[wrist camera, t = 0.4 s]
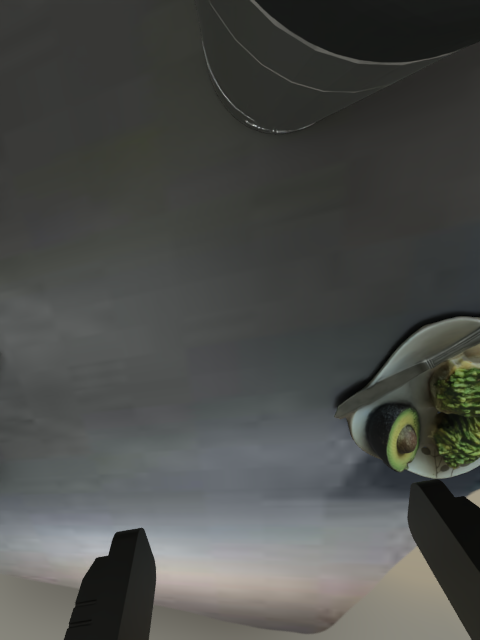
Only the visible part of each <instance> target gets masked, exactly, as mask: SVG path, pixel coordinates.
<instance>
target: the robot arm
mask: <svg viewBox="0 0 480 640" xmlns="http://www.w3.org/2000/svg"><path fill="white" fill-rule="evenodd" d="M195 5H196V10H197V15H198V21H199V26H200V31H201V36H202V43H203V48H204V53H205V58H206V63H207V68H208V73H209V76H210V79H211V81H212V84H213V87H214V89H215V92H216V93H217V95H218V97H219V98H220V100H221V102H222V103H223V105H224V106H225V108H226V109H227V110H228V111H229V112H230V113H231V114H232V115H233V116H234V117H235V118H236V119H237V120H239V121H240V122H242V123H243V124H244V125H246V126H247V127H250V128H252V129H255V130H257V131H260V132H264V133H270V134H283V133H291V132H294V131H297V130H300V129H304V128H306V127H308V126H311V125H313V124H315V122H317V121H319V120H321V119H323V118H325V117H327V116H329V115H331V114H333V113H335V112H337V111H339V110H341V109H344V108H346V107H348V106H350V105H352V104H354V103H356V102H358V101H360V100H362V99H364V98H366V97H368V96H370V95H372V94H374V93H376V92H378V91H380V90H382V89H384V88H386V87H388V86H390V85H392V84H394V83H396V82H398V81H400V80H402V79H404V78H406V77H408V76H410V75H412V74H414V73H416V72H418V71H420V70H421V69H423V68H425V67H427V66H429V65H431V64H433V63H435V62H437V61H439V60H441V59H443V58H445V57H447V56H449V55H451V54H453V53H455V52H457V51H459V50H461V49H463V48H465V47H467V46H469V45H472V44H474V43H476V42H479V41H480V0H195ZM408 525H409V528H410V531H411V534H412V536H413V539H414V541H415V542H416V544H417V546H418V547H419V549H420V551H421V553H422V554H423V556H424V558H425V559H426V561H427V563H428V565H429V567H430V568H431V570H432V572H433V574H434V575H435V577H436V579H437V581H438V582H439V584H440V586H441V587H442V589H443V591H444V593H445V594H446V596H447V598H448V600H449V601H450V603H451V605H452V606H453V608H454V610H455V612H456V613H457V615H458V617H459V619H460V620H461V622H462V624H463V626H464V627H465V629H466V631H467V632H468V634H469V636H470V637H471V639H472V640H480V508H479V507H478V506H477V505H475V504H474V503H472V502H471V501H470V500H468V499H467V498H466V497H464V496H461V497H454V496H453V494H452V493H451V492H450V491H449V489H448V488H447V487H446V486H445V484H444V483H443V482H442V481H440V480H438V479H435V480H429V481H423V482H417V483H412V484H411V488H410V497H409V507H408ZM155 585H156V566H155V560H154V557H153V554H152V551H151V548H150V545H149V542H148V539H147V536H146V533H145V531H144V529H143V528H138V529H132V530H126V531H120V532H116V533H115V535H114V537H113V540H112V544H111V547H110V551H109V555H108V556H104V557H98V558H96V559H95V561H94V562H93V564H92V566H91V567H90V569H89V570H88V572H87V573H86V575H85V576H84V578H83V580H82V583H81V586H80V590H79V593H78V596H77V599H76V606H75V608H74V609H73V612H72V615H71V618H70V622H69V628H68V629H67V631H66V635H65V638H64V640H149V633H150V625H151V617H152V609H153V602H154V594H155Z"/></svg>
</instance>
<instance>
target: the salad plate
mask: <svg viewBox="0 0 480 640" xmlns="http://www.w3.org/2000/svg"><path fill="white" fill-rule="evenodd" d="M419 374H420V375H419ZM438 411H440V412H441V413H439V414H437V412H438ZM334 417H335V418H339V419H342V418H344V417H345V418H346V419H347V421H348V425H349V429H350V434H351V436H352V439H353V440H354V441H355V443H356V444H357V445H358V446H359V447H360V448H361V449H362V450H363V451H365V452H366V453H368V454H370V455H372V456H374V457H376V458H379V459H381V460H383V462H384V463H385V464H386V465H387V466H388V467H390V468H391V469H393V470H394V471H397V472H402V471H403V470H404V469H405V470H409V471H411V472H413V473H416V474H418V475H421V476H425V477H429V478H434V479H437V478H440V479H441V478H448V477H453V476H457V475H459V474H463V473H466V472H468V471H470V470H472V469H474V468H476V467H477V466H479V465H480V318H479V317H467V316H458V317H454V318H450V319H445V320H442V321H439V322H436V323H432V324H427V325H425V326H423V327H421V328H420V329H419V330H417V331H416V332H414V333H413V334H412V335H411V336H410V337H409V338H408V339H406V340H405V341H404V342H403V343H402V344H401V345H400V346H399V347H398V348H397V349H396V351H395V352H394V353H393V354H392V355H391V357H390V358H389V359H388V361H387V362H386V363H385V364H384V365H383V367H382V368H381V369H380V370H379V372H378V373H377V374H376V375H375V377H374V378H373V379H372V380H371V381H370V382H369V383H368V384H367V385H366V386H365V387H364V388H363V389H361V390H360V391H358V392H357V393H355V394H354V395H352V396H351V397H350V398H348V399H347V400H346V401H344V402H343V403H342V404H341V405H339V406H338V408H337V412H336V414H335V416H334ZM424 446H426V447H427V448H423V447H424Z"/></svg>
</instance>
